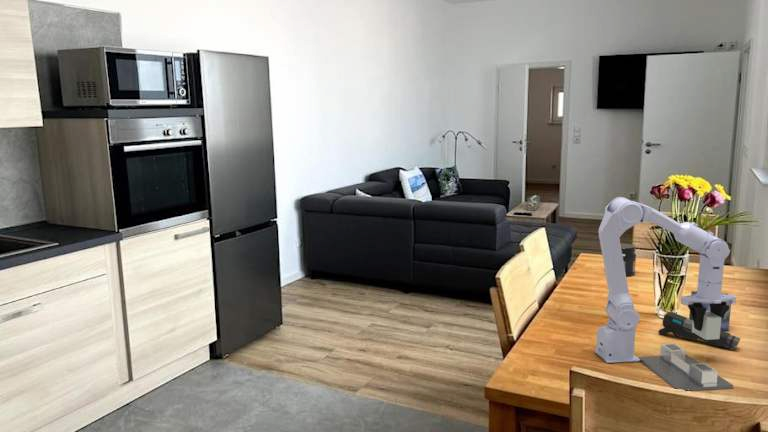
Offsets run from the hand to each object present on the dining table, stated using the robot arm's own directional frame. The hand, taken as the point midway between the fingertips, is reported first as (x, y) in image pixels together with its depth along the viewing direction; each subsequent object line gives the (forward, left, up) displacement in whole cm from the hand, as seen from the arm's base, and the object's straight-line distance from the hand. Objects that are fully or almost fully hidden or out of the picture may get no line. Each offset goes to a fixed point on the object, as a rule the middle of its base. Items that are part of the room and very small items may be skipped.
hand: (705, 329), depth 161 cm
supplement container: (+21, +86, -9) cm, 89 cm away
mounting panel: (-11, -8, -8) cm, 16 cm away
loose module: (0, 0, -2) cm, 2 cm away
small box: (+17, +23, -9) cm, 30 cm away
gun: (+6, +12, -9) cm, 16 cm away
